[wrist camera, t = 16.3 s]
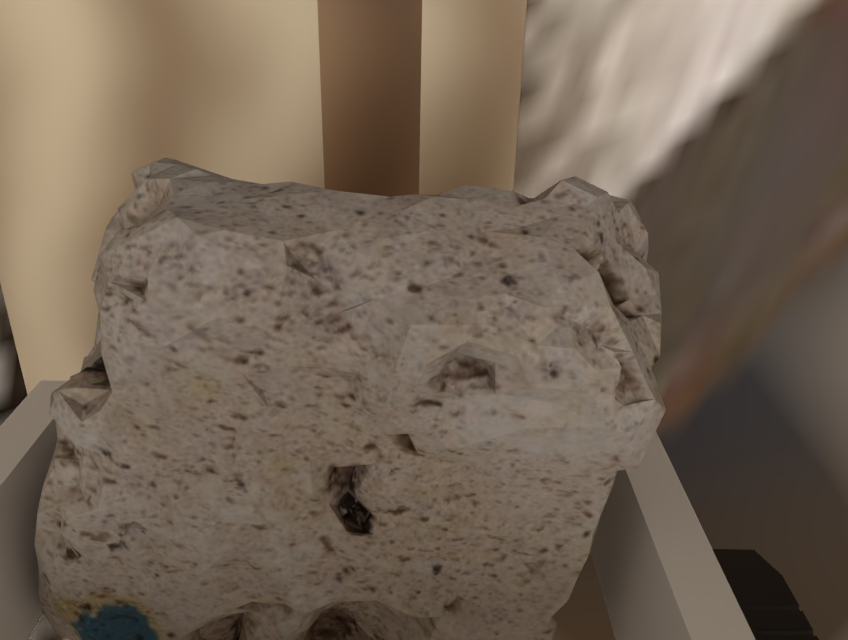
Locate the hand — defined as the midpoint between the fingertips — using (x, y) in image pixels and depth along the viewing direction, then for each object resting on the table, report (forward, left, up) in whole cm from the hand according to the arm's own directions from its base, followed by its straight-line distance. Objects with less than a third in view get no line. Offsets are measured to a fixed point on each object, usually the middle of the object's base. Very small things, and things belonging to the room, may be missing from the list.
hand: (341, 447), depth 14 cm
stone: (0, 0, -1) cm, 1 cm away
